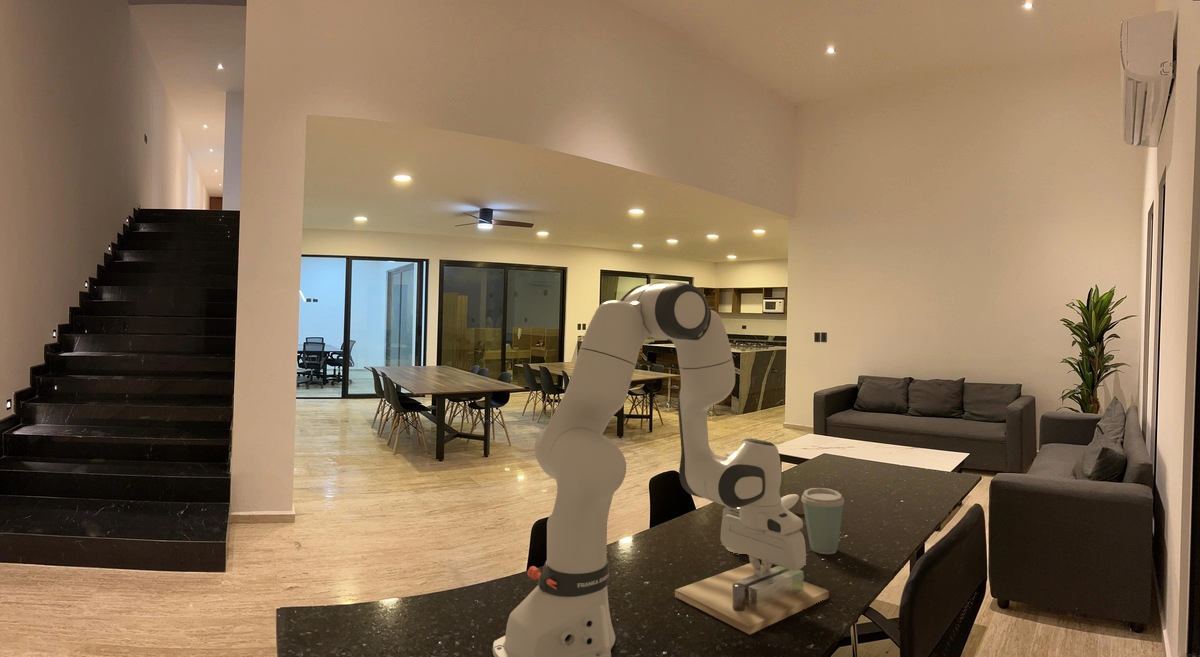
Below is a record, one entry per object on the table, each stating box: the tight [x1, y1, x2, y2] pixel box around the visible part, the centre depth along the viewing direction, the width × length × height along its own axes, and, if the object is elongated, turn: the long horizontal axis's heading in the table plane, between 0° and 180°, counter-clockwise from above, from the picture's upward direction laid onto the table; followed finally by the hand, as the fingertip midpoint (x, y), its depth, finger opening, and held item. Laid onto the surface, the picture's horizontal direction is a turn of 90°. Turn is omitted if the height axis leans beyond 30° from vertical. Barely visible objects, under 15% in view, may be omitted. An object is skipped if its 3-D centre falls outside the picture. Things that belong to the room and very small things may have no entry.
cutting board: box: [674, 562, 830, 636], centre depth 130 cm, size 26×20×2 cm
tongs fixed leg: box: [749, 569, 804, 610], centre depth 126 cm, size 16×2×4 cm, turn 127°
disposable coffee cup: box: [800, 487, 845, 555], centre depth 157 cm, size 11×11×15 cm
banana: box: [781, 493, 800, 510], centre depth 186 cm, size 5×19×15 cm, turn 131°
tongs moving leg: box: [732, 565, 790, 611], centre depth 126 cm, size 19×4×5 cm, turn 127°
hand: (761, 577), depth 131 cm, fingers closed
